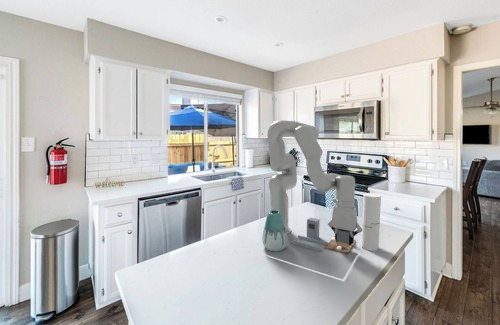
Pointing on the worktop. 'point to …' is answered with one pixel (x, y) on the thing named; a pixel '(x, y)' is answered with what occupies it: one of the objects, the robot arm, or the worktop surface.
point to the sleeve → (343, 238)
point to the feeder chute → (310, 243)
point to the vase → (274, 232)
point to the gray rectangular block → (313, 228)
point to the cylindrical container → (371, 221)
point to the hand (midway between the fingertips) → (344, 242)
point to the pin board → (333, 246)
